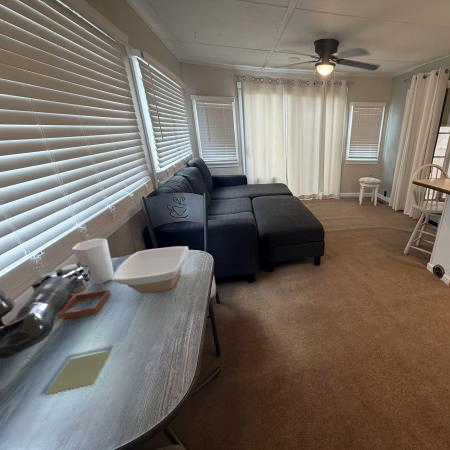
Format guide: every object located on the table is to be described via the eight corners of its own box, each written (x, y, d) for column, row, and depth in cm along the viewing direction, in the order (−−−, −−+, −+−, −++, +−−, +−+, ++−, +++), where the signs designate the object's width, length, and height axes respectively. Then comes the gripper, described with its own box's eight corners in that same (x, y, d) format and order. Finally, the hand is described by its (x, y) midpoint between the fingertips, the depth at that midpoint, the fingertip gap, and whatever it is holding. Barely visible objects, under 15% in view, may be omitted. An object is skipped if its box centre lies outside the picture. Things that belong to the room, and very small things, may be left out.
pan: (30, 326, 79) (26, 320, 78) (52, 304, 89) (49, 299, 88) (97, 313, 83) (94, 308, 82) (111, 294, 93) (109, 289, 92)
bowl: (185, 296, 91) (178, 272, 87) (112, 306, 86) (103, 282, 83) (197, 264, 112) (192, 244, 108) (139, 271, 108) (133, 251, 104)
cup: (124, 273, 107) (112, 238, 101) (104, 286, 98) (89, 250, 92) (103, 271, 109) (89, 238, 103) (81, 285, 100) (65, 249, 93)
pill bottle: (75, 287, 86) (64, 264, 83) (92, 285, 87) (82, 261, 84) (65, 296, 81) (53, 272, 78) (83, 294, 83) (73, 269, 79)
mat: (45, 396, 57) (44, 395, 57) (70, 360, 66) (69, 359, 66) (93, 384, 60) (92, 383, 60) (111, 351, 69) (110, 350, 68)
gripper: (78, 277, 71) (95, 253, 85) (11, 291, 65) (42, 263, 79) (87, 298, 73) (102, 271, 88) (24, 313, 68) (51, 282, 82)
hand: (73, 267), depth 84 cm, fingers closed on pill bottle, 5 cm apart
